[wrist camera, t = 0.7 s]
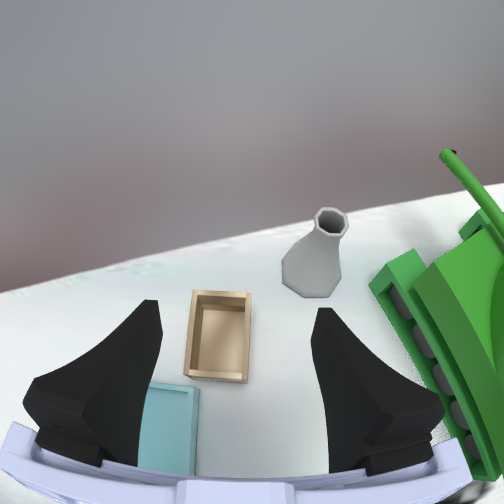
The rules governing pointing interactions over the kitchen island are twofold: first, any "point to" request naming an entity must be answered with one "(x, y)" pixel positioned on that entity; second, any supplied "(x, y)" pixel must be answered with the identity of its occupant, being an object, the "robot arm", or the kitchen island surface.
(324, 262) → the flask
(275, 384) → the kitchen island surface
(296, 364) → the kitchen island surface
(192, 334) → the birch crate
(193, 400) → the teal crate
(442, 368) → the tank
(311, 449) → the kitchen island surface
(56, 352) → the kitchen island surface
